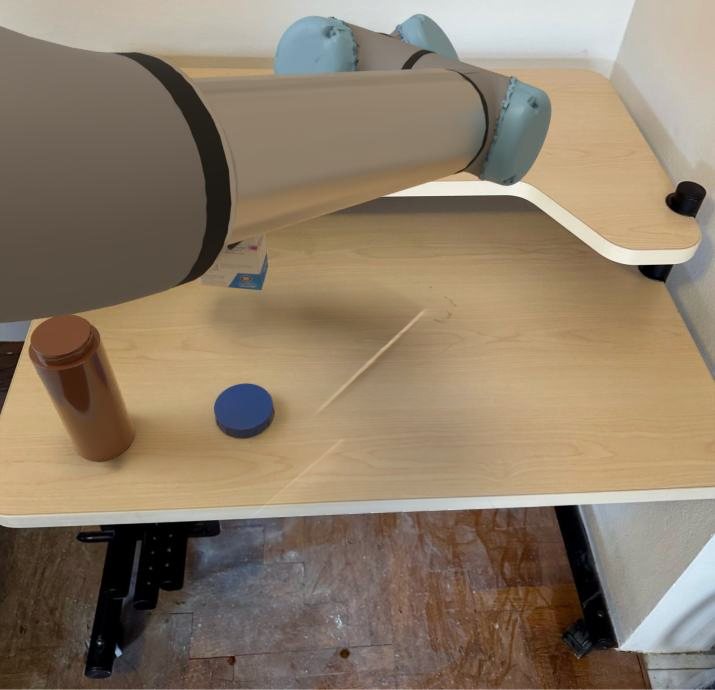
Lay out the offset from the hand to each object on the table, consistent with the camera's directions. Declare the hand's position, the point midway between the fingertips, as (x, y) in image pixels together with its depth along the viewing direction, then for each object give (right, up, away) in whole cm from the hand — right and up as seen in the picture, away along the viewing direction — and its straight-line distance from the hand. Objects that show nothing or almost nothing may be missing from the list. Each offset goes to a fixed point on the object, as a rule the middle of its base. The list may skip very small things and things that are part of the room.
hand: (200, 241), depth 84 cm
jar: (-10, -24, -6) cm, 26 cm away
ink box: (+3, -4, +4) cm, 7 cm away
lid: (+6, -21, -4) cm, 22 cm away
